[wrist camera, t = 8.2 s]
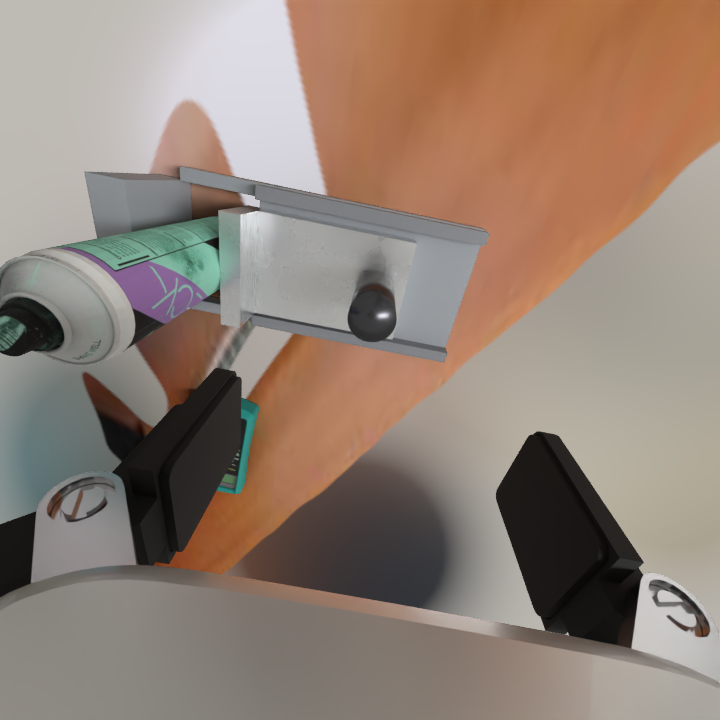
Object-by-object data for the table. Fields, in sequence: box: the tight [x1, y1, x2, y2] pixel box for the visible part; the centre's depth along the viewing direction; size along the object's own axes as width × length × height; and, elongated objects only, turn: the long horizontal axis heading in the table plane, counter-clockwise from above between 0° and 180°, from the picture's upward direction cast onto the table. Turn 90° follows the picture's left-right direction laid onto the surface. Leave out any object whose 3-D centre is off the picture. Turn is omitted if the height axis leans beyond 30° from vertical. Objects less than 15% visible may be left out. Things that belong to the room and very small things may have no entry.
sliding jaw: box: [218, 206, 417, 342], centre depth 25 cm, size 8×14×9 cm, turn 79°
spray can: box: [0, 216, 220, 366], centre depth 21 cm, size 6×6×20 cm
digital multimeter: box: [217, 398, 259, 494], centre depth 41 cm, size 7×15×3 cm, turn 163°
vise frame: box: [85, 166, 490, 362], centre depth 27 cm, size 12×28×8 cm, turn 79°
